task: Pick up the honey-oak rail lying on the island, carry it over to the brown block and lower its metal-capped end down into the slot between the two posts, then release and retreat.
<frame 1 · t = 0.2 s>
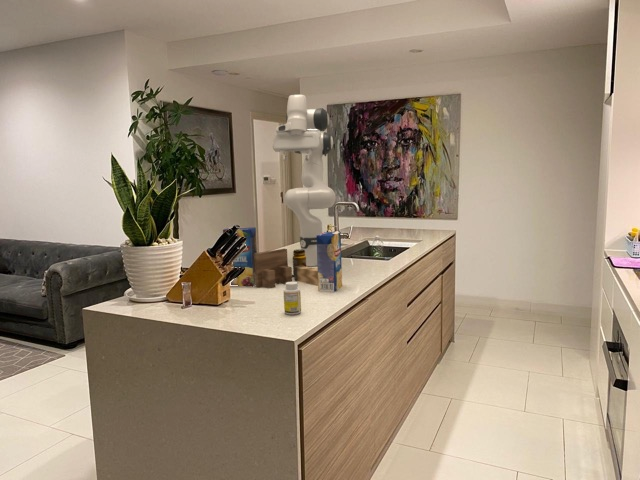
hand: (296, 160, 208), 52 cm above the counter, tool tilted 20°, fingers open, 8 cm apart
rail: (310, 282, 209), on the counter
beverage box: (330, 288, 197), on the counter
juice carton: (242, 285, 209), on the counter
condiment: (298, 276, 222), on the counter
supplement bottle: (292, 313, 163), on the counter
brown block: (275, 284, 207), on the counter
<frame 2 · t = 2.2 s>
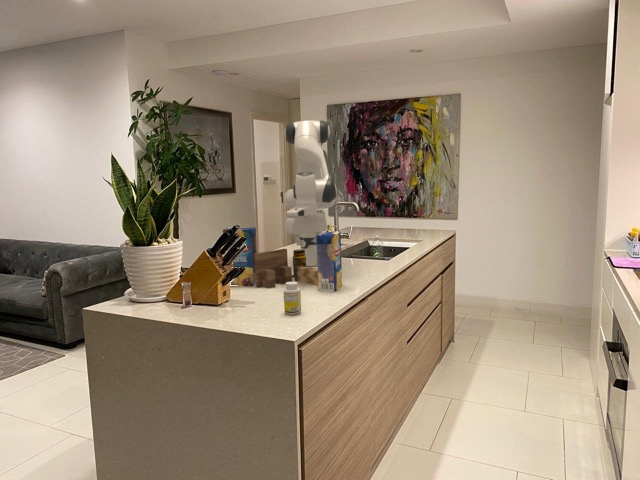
hand: (307, 243, 207), 16 cm above the counter, tool pointing down, fingers open, 8 cm apart
nothing on the counter moved.
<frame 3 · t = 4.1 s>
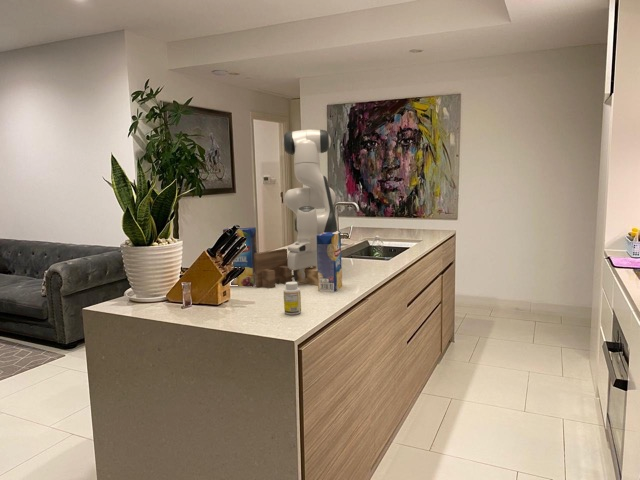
hand: (309, 277, 209), 2 cm above the counter, tool pointing down, fingers closed on rail, 4 cm apart
rail: (310, 282, 209), on the counter, touching gripper
everything else where it was.
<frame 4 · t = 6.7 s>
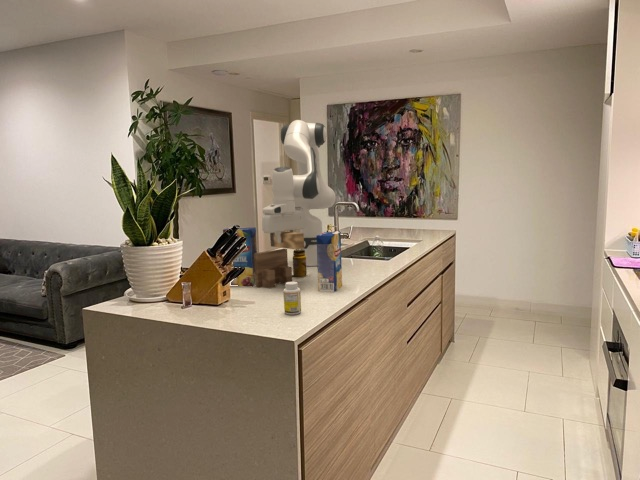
hand: (285, 242, 199), 19 cm above the counter, tool pointing down, fingers closed on rail, 4 cm apart
rail: (287, 247, 199), point 17 cm above the counter, touching gripper
everything else where it was.
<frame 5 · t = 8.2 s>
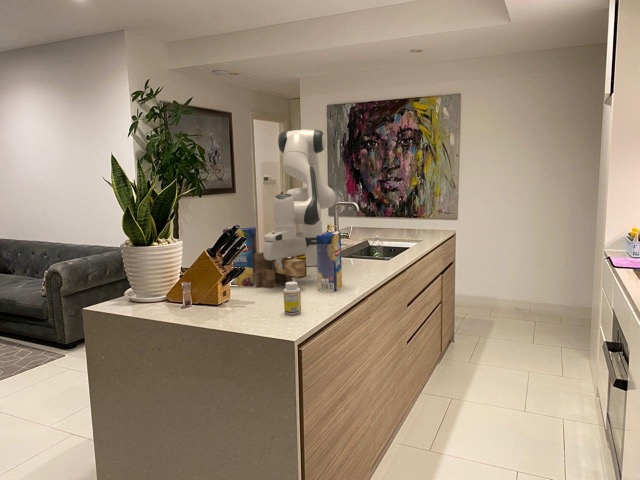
hand: (286, 268, 200), 8 cm above the counter, tool pointing down, fingers closed on rail, 4 cm apart
rail: (288, 273, 200), point 6 cm above the counter, touching gripper
everything else where it was.
when the fingers open (4 cm above the counter, at t = 9.4 s): rail drops 1 cm, on the counter.
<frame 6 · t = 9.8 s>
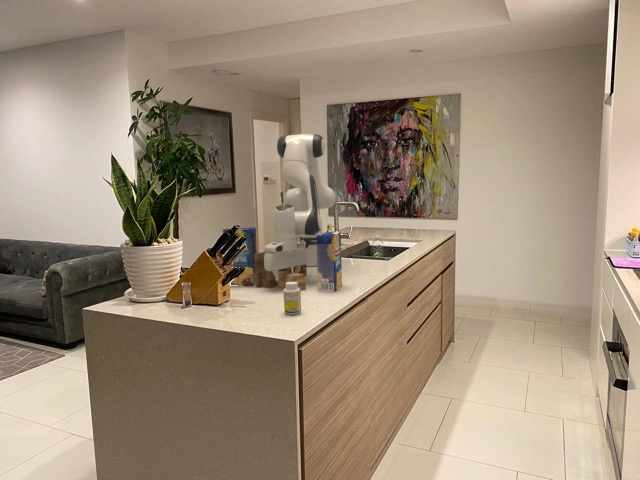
hand: (287, 278, 201), 4 cm above the counter, tool pointing down, fingers open, 8 cm apart
rail: (289, 287, 201), on the counter
everything else where it was.
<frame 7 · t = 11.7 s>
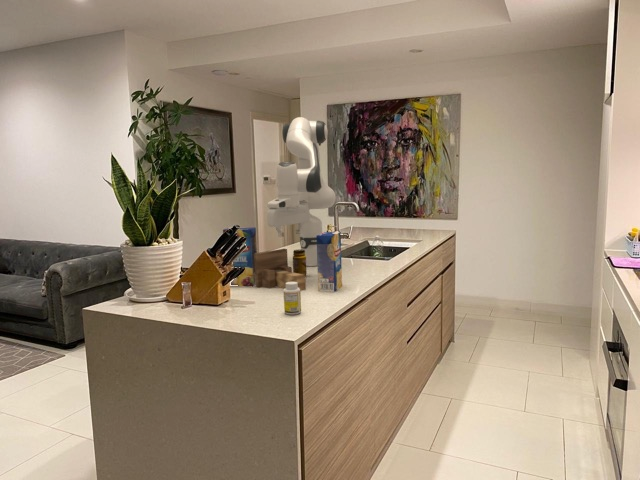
hand: (290, 235, 203), 21 cm above the counter, tool pointing down, fingers open, 8 cm apart
nothing on the counter moved.
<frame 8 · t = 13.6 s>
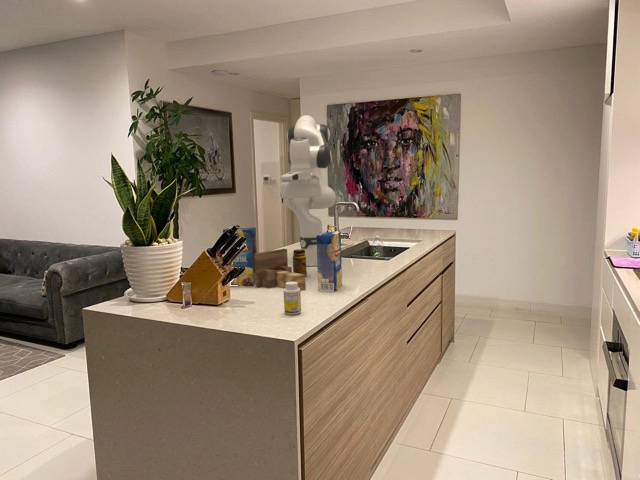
hand: (302, 208, 210), 31 cm above the counter, tool pointing down, fingers open, 8 cm apart
nothing on the counter moved.
at the end: rail 0.3 cm from the target spot, on the counter; rail tilted 0°; the gripper is holding nothing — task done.
